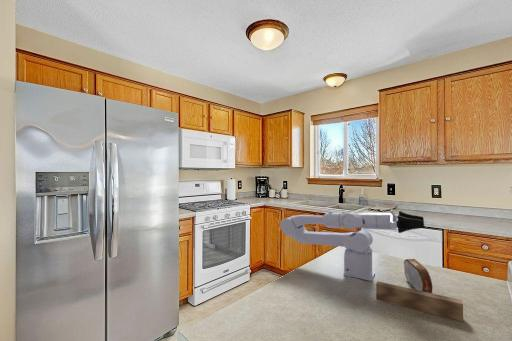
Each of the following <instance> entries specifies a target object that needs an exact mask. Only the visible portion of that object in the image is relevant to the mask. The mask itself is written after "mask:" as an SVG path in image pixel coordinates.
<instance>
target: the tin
mask: <svg viewBox="0 0 512 341" xmlns="http://www.w3.org/2000/svg"><path fill="white" fill-rule="evenodd" d="M403 267H404V269H403V270H404V276H405V279H406V281H407V282H408V284H409V286H411V287H412V289H415V290H419V291H424V292H428V293H433V282H432V278H431V275H430V273H429V271H428V269H427V267H425V266H424V265H423V264H421V262H419V261H418V260H416V259H415V258H406V259H405V260H404V261H403Z"/></svg>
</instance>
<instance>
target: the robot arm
mask: <svg viewBox="0 0 512 341" xmlns="http://www.w3.org/2000/svg"><path fill="white" fill-rule="evenodd" d="M305 225H324V226H325V227H326V228H334V229H337V228H341V229H343V228H346V229H348V230H350V231H351V232H329V231H328V232H327V231H312V230H311V231H309V230H307V229H306V228H305ZM279 226H280V230H281V231H282V233H283V234H284V235H285V236H288V237H290V238H291V239H293V240H295V241H296V242H298V243H300V244H306V245H319V246H332V247H333V246H334V247H343V248H345V250H344V255H343V256H344V257H343V276H346V277H347V276H348V277H352V278H357V279H360V280H365V281H370V282H372V281H373V279H374V276H375V275H376V272H375V271H373V249H372V248H371V245H372V243H373V240H374V238H373V236H372V234H371V233H370V232H368V231H367V229H369V230H387V231H389V230H391V231H396V230H397V232H398V233H399V234H401V233H404V232H407V231H412V230H418V229H424V228H425V219H424V216H420V215H416V214H415V215H414V214H409V213H406V212H404V211H401V210H399V211H398V214H397V215H396V214H395V212H394V209H390V212H354V211H352V210H351V211H348V212H347V213H346V211H341V212H334V211H333V210H329V211H328V212H325V213H324V214H323V215H318V214H316V215H313V214H298V215H297V214H296V215H295V214H294V215H291V216H288V217H286V218H283V219H281V221H280V223H279ZM356 228H357V229H363V230H358V231H354V232H353V230H355V229H356ZM364 229H365V230H364Z"/></svg>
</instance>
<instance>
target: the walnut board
mask: <svg viewBox="0 0 512 341" xmlns="http://www.w3.org/2000/svg"><path fill="white" fill-rule="evenodd" d="M375 290H376V291H375V300H378V301H382V302H386V303H390V304H393V305H397V306H399V307H404V308H408V309H411V310H416V311H420V312H424V313H428V314H430V315H431V314H432V315H435V316H438V317H443V318H447V319H450V320H454V321H458V322H462V323H464V302H463V300H462V299H459V298H454V297H451V296H446V295H442V294H441V295H440V294H436V293H433V292H432V293H428V292H424V291H419V290H415V289H414V288H411V287H407V286H401V285H396V284H391V283H387V282H383V281H380V280H377V281H376V284H375Z"/></svg>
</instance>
